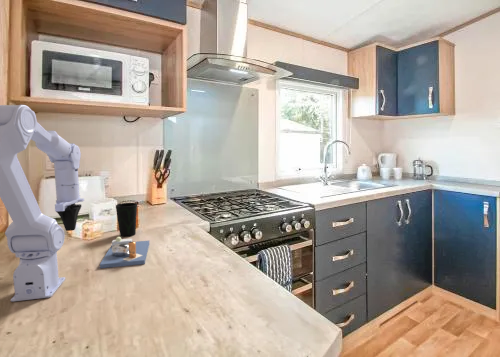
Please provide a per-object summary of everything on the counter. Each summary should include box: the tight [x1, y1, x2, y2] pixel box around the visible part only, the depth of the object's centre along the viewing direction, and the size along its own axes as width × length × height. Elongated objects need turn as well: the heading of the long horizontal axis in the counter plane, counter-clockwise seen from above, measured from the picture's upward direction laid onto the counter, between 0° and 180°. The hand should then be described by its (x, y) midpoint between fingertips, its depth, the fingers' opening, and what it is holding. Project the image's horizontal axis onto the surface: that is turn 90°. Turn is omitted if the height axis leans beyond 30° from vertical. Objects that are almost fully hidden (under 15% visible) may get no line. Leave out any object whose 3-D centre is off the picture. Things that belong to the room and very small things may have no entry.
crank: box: [112, 241, 137, 258], centre depth 87 cm, size 9×5×4 cm, turn 60°
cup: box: [115, 202, 138, 238], centre depth 111 cm, size 8×8×12 cm
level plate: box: [99, 236, 150, 269], centre depth 91 cm, size 18×12×4 cm, turn 15°
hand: (70, 229), depth 84 cm, fingers closed
